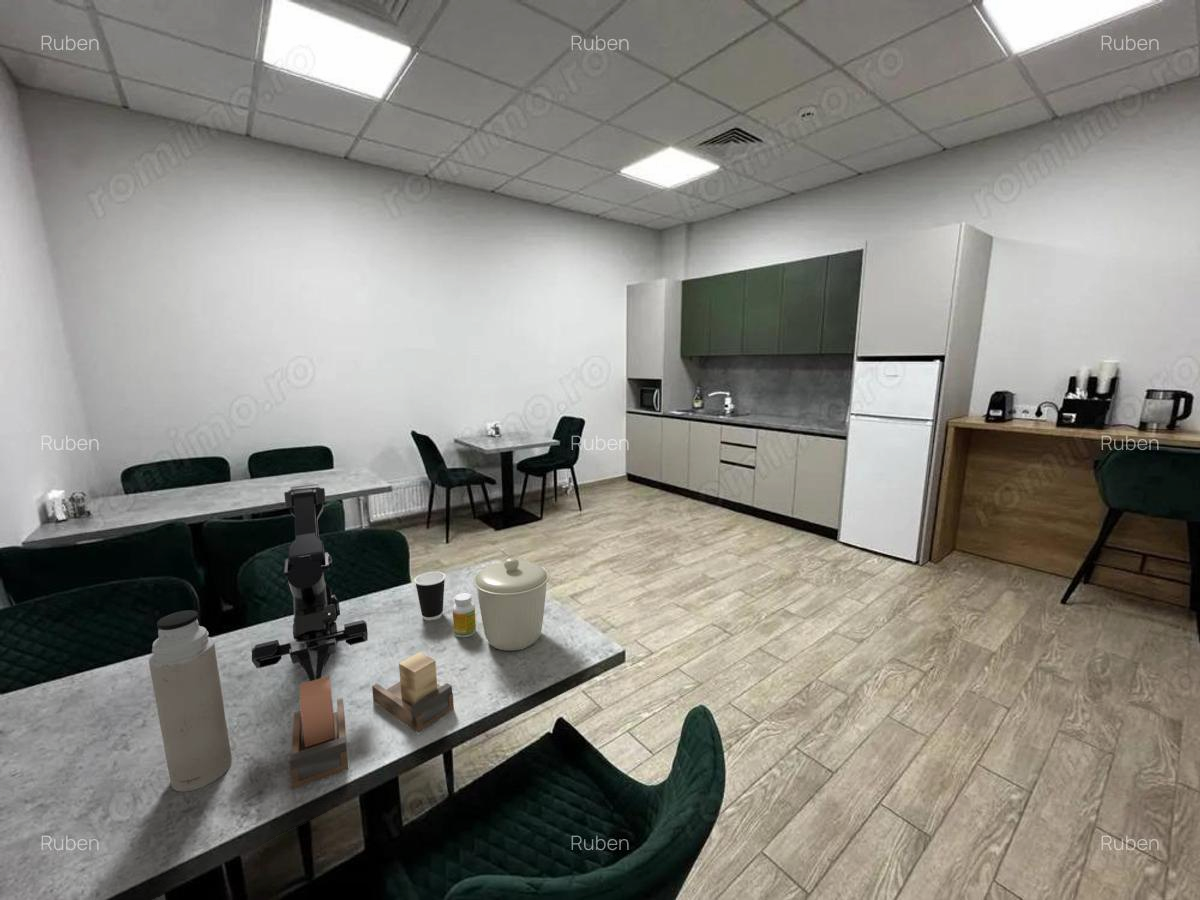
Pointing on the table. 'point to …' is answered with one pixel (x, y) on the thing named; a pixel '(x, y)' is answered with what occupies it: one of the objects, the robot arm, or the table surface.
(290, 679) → the table surface
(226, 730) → the thermos bottle
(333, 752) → the dark wooden block holder
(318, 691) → the terracotta slider
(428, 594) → the dixie cup
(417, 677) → the oak slider
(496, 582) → the canister
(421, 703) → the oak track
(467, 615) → the supplement bottle
